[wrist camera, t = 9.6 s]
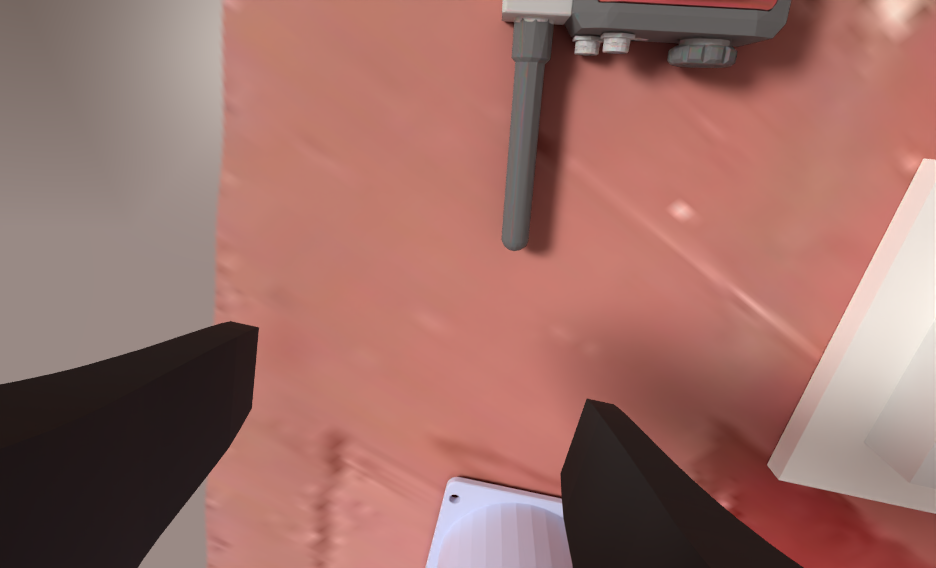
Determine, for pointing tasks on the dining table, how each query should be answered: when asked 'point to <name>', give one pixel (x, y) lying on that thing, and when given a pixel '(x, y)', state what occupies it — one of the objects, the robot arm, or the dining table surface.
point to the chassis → (877, 375)
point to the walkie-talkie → (616, 24)
